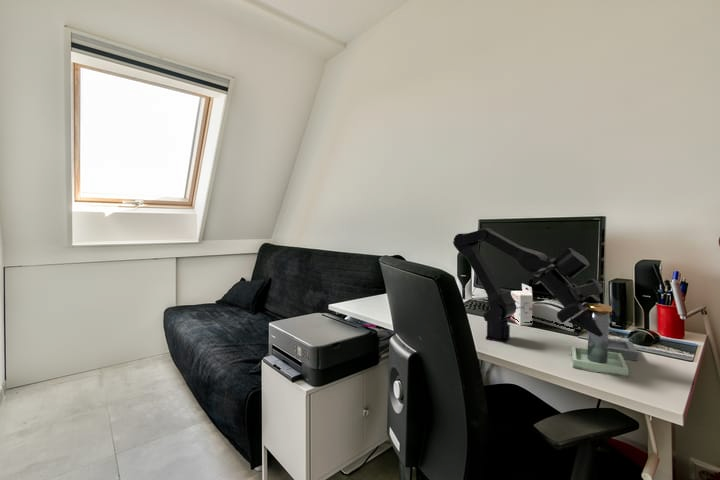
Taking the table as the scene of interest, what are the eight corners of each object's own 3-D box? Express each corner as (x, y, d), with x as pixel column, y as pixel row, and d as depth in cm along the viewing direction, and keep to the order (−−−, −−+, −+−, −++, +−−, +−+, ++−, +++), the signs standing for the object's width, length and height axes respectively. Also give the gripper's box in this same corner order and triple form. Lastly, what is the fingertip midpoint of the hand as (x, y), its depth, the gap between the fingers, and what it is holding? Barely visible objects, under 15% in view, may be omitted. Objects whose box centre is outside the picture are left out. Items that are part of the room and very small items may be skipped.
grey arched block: (581, 329, 121) (576, 305, 119) (573, 336, 119) (568, 311, 117) (539, 318, 136) (534, 296, 134) (531, 323, 134) (526, 301, 132)
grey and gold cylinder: (581, 358, 92) (583, 304, 91) (590, 354, 95) (592, 302, 94) (604, 365, 87) (607, 309, 86) (613, 361, 90) (615, 306, 89)
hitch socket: (595, 354, 98) (596, 346, 98) (593, 344, 106) (593, 336, 106) (637, 361, 93) (637, 352, 93) (631, 349, 101) (631, 341, 101)
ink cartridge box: (509, 319, 135) (510, 283, 134) (522, 319, 135) (522, 283, 134) (519, 325, 126) (520, 287, 126) (532, 325, 126) (533, 287, 125)
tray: (573, 367, 89) (573, 359, 89) (571, 353, 99) (571, 346, 99) (628, 377, 83) (628, 369, 83) (620, 361, 93) (621, 353, 93)
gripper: (571, 273, 87) (622, 324, 79) (592, 267, 99) (639, 311, 91) (538, 298, 93) (583, 348, 85) (562, 289, 105) (603, 332, 97)
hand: (604, 333), depth 89 cm, fingers closed on grey and gold cylinder, 4 cm apart
